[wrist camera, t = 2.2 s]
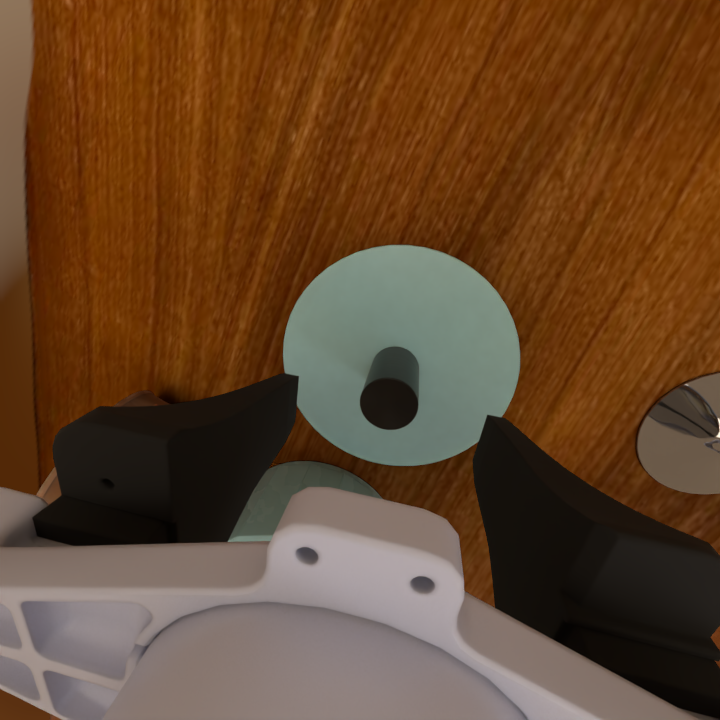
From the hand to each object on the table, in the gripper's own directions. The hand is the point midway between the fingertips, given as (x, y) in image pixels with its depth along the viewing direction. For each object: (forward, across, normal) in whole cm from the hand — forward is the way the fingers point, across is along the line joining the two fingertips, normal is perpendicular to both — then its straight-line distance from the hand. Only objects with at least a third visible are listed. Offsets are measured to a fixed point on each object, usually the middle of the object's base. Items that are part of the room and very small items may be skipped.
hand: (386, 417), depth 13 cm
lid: (+6, 0, 0) cm, 6 cm away
